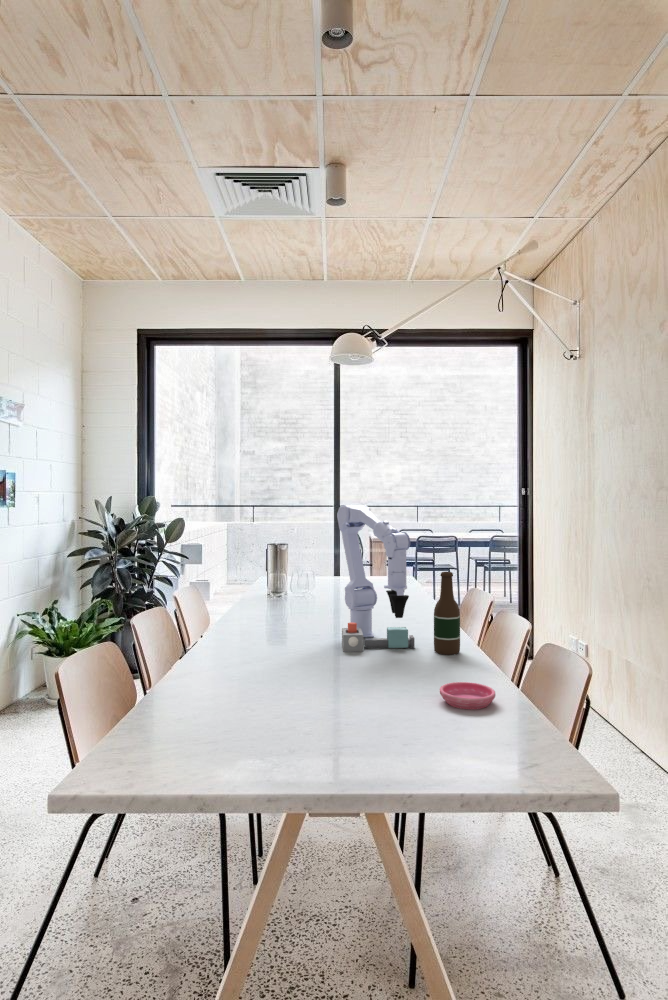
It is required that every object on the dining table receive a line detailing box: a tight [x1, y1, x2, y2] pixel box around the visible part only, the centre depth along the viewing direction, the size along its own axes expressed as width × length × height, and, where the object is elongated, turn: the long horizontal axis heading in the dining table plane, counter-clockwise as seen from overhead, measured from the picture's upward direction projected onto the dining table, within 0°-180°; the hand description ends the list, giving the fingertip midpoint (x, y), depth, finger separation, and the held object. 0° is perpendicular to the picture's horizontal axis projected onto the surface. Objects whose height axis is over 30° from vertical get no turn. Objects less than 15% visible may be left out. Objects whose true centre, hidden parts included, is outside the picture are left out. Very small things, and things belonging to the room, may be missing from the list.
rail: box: [364, 634, 415, 649], centre depth 198 cm, size 4×15×3 cm, turn 92°
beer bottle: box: [433, 571, 461, 656], centre depth 191 cm, size 8×8×24 cm
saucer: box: [439, 681, 496, 710], centre depth 145 cm, size 12×12×3 cm
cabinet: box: [341, 627, 364, 653], centre depth 197 cm, size 10×6×5 cm, turn 2°
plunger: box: [347, 622, 357, 633], centre depth 197 cm, size 3×3×4 cm
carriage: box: [386, 626, 409, 649], centre depth 198 cm, size 4×6×5 cm
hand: (397, 615), depth 198 cm, fingers open, 7 cm apart
